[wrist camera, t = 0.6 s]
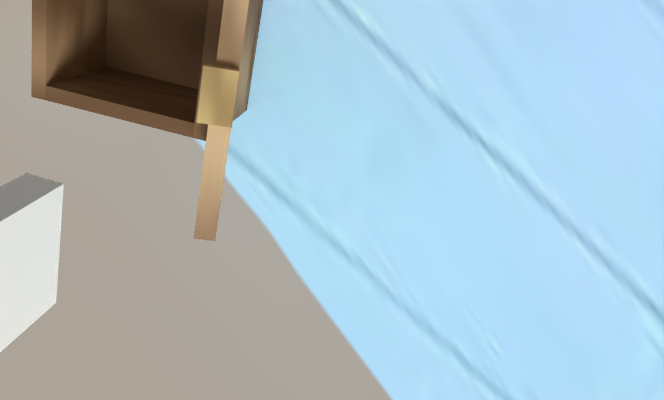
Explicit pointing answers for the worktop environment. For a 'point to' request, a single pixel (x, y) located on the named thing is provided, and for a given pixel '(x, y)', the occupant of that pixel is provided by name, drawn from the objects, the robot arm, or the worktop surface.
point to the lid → (219, 113)
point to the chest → (135, 58)
